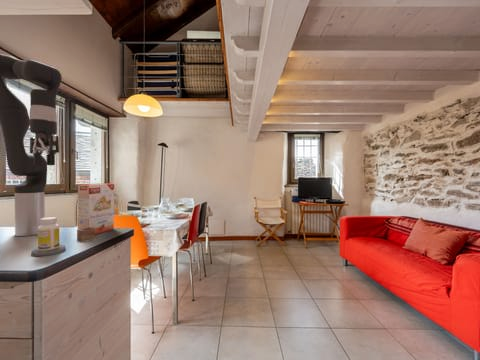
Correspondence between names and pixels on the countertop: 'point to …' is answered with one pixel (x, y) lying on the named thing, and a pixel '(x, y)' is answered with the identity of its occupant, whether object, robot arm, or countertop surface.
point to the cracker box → (96, 207)
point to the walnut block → (85, 234)
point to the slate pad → (48, 252)
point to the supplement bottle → (48, 234)
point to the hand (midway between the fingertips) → (44, 165)
